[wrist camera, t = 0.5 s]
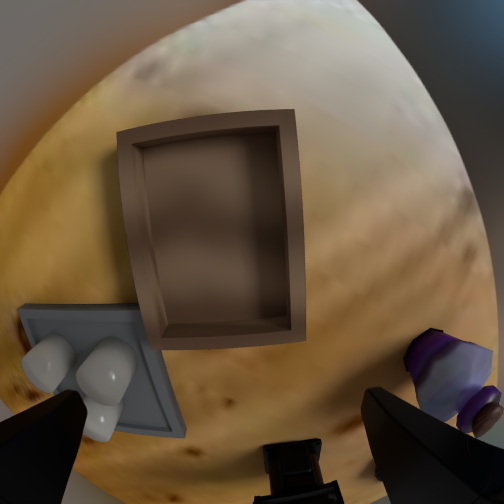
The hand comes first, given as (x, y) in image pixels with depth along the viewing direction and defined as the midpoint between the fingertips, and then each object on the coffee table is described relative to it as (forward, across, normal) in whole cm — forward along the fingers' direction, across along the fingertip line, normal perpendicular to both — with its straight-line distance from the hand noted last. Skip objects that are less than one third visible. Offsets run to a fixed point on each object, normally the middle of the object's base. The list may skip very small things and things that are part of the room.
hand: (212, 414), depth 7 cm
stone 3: (+13, +14, +12) cm, 23 cm away
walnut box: (+14, +1, -3) cm, 14 cm away
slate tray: (+14, +14, +10) cm, 22 cm away
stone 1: (+13, +18, +7) cm, 23 cm away
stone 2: (+13, +11, +7) cm, 18 cm away
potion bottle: (+14, -18, +10) cm, 25 cm away
